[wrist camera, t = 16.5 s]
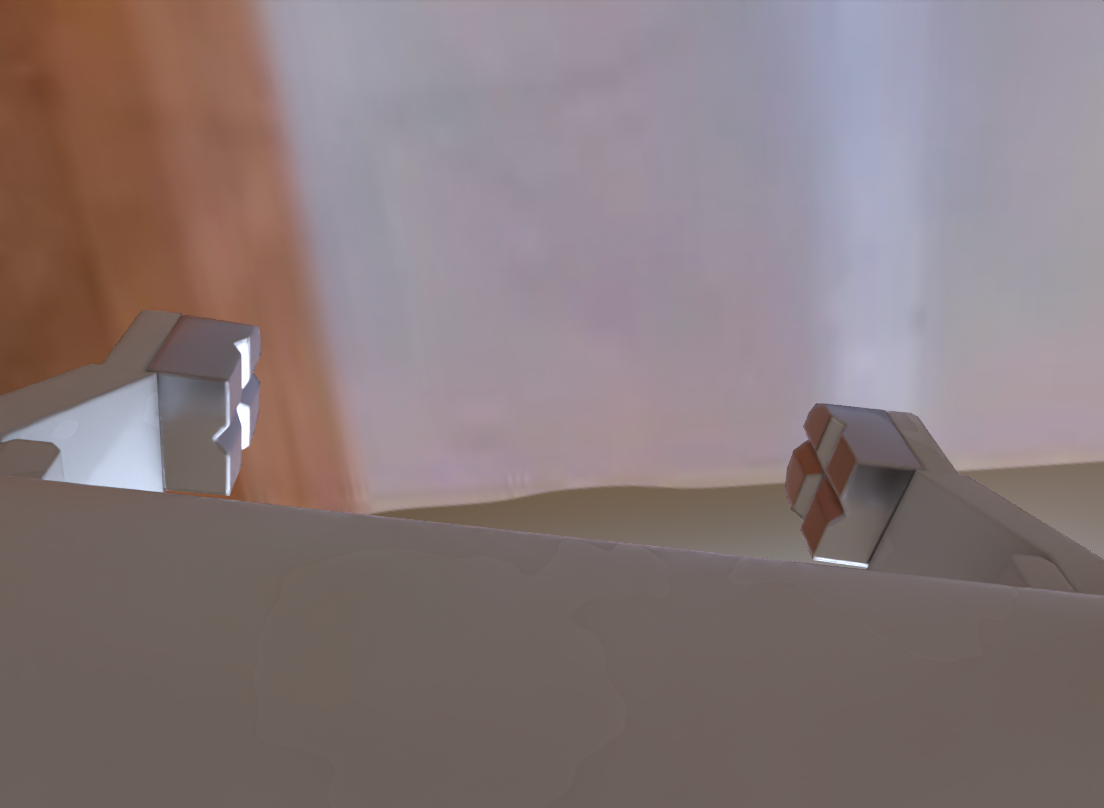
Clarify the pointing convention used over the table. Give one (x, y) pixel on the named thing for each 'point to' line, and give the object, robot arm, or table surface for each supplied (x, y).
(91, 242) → the table surface
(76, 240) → the table surface
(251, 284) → the table surface
